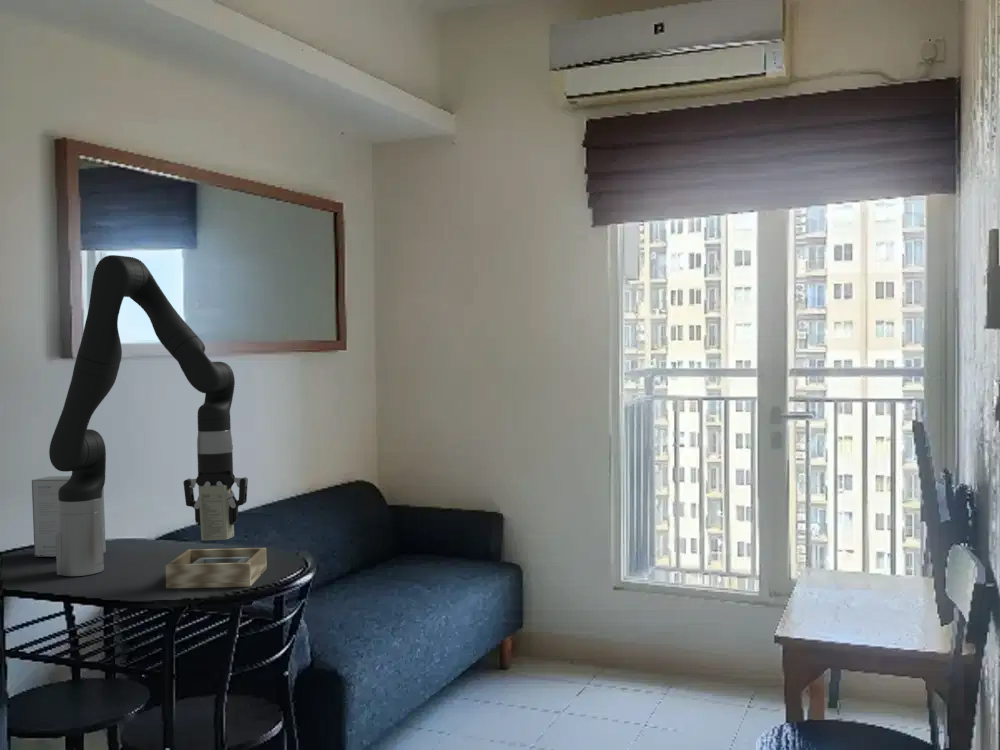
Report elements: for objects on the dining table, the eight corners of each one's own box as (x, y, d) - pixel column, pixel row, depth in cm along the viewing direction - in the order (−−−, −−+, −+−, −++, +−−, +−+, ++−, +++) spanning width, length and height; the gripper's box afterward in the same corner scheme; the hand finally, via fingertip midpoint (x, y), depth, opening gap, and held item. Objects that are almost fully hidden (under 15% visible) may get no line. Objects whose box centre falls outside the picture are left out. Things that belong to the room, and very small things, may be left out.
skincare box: (234, 536, 207) (233, 482, 207) (227, 540, 203) (225, 485, 203) (207, 536, 208) (206, 483, 208) (199, 540, 203) (197, 485, 203)
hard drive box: (107, 552, 235) (105, 475, 234) (89, 559, 227) (87, 479, 227) (52, 551, 237) (49, 475, 237) (32, 558, 230) (30, 479, 229)
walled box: (166, 588, 197) (165, 565, 197) (189, 570, 213) (188, 549, 213) (250, 586, 198) (249, 563, 198) (266, 569, 214) (266, 547, 214)
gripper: (177, 453, 201) (179, 528, 201) (243, 451, 201) (245, 526, 202) (187, 449, 208) (190, 522, 209) (251, 448, 209) (253, 520, 209)
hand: (217, 524), depth 205 cm, fingers closed on skincare box, 6 cm apart
